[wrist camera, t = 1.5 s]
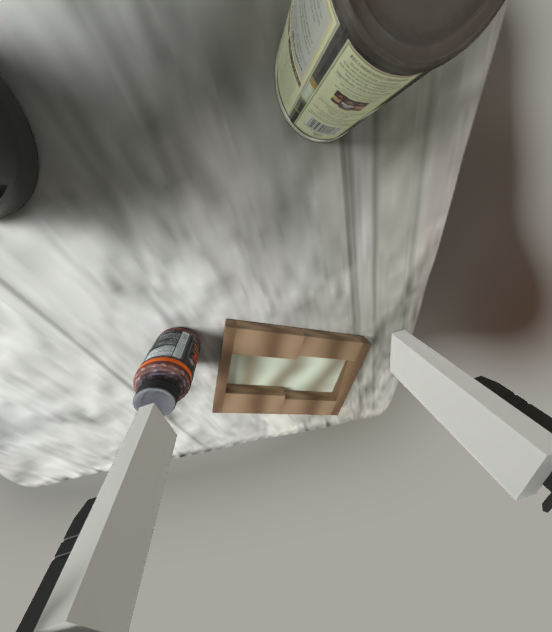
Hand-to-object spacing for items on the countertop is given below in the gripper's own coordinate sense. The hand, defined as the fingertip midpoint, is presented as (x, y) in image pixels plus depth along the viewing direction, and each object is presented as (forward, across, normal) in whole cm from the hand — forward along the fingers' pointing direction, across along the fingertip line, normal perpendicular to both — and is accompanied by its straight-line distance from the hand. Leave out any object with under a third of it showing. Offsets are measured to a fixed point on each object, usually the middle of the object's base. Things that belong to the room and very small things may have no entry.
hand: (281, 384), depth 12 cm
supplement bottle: (+20, -13, -6) cm, 25 cm away
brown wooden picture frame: (+20, +2, -17) cm, 26 cm away
